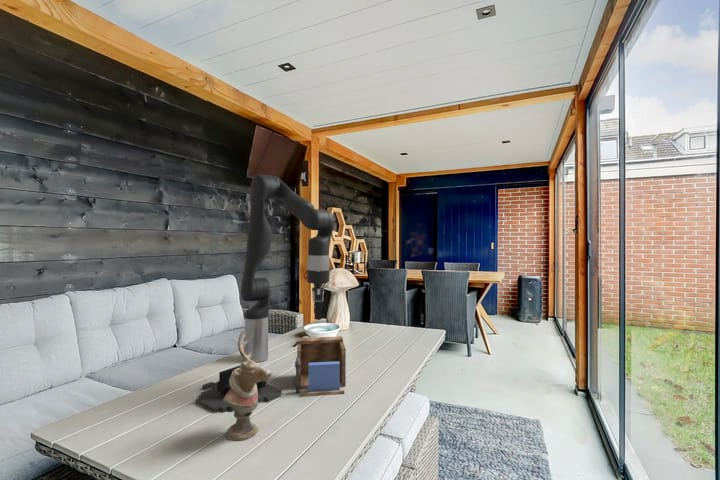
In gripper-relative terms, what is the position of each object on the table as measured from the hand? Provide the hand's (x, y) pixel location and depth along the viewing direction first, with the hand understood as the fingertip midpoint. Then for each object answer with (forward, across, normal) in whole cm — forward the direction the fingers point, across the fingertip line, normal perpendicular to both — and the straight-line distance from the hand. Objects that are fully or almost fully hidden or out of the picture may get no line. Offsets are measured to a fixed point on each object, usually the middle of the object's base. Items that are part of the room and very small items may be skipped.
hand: (317, 316), depth 120 cm
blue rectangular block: (+23, +6, +2) cm, 24 cm away
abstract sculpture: (+24, +5, -26) cm, 36 cm away
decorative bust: (+23, +29, -18) cm, 41 cm away
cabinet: (+23, +1, +1) cm, 23 cm away
